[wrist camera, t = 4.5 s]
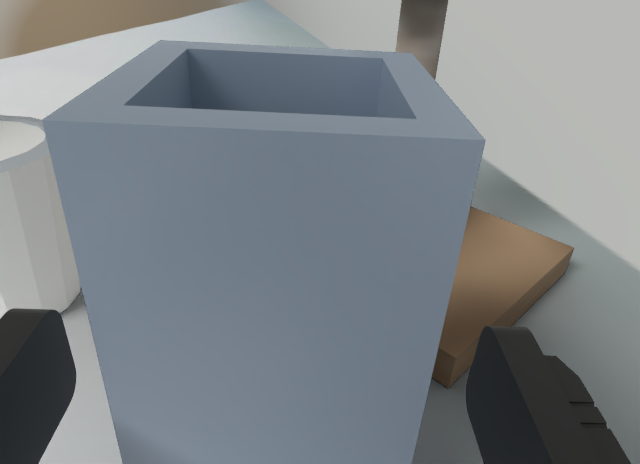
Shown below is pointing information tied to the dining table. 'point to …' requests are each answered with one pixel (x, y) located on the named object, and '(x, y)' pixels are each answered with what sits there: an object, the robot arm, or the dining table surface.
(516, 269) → the post stand
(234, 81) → the sleeve
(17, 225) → the white cup
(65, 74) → the dining table surface
